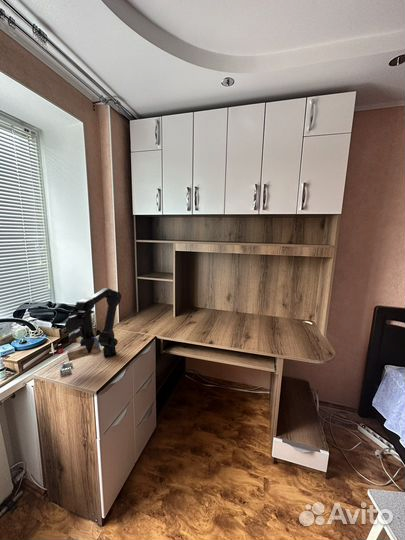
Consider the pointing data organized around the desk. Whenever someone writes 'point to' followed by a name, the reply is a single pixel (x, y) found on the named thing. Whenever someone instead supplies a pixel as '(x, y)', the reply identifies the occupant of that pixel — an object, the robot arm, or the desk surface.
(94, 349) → the rail
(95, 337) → the perfume bottle
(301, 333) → the desk surface
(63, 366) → the bracket
